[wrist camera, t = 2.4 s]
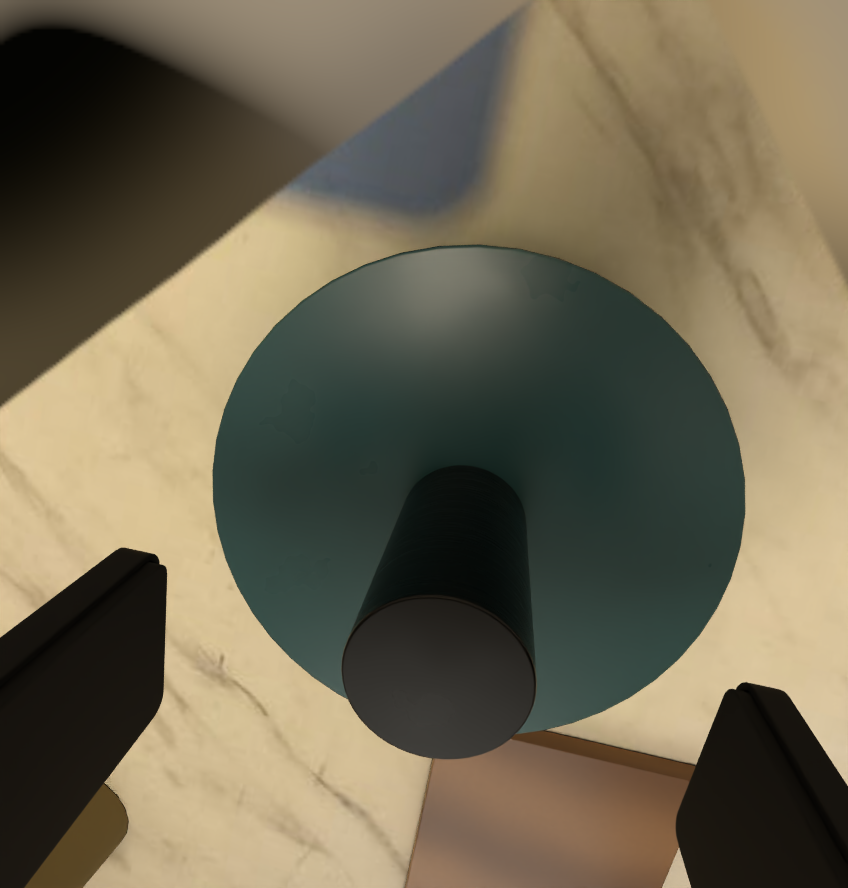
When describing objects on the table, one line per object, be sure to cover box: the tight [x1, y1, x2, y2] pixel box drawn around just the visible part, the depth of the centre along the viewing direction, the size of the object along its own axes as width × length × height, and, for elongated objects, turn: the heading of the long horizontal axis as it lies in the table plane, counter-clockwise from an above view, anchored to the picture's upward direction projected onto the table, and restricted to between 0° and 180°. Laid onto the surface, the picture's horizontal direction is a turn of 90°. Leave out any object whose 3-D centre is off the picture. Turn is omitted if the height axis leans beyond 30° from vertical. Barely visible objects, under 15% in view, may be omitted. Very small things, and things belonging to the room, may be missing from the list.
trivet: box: [405, 731, 696, 888], centre depth 30 cm, size 14×12×1 cm
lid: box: [213, 245, 745, 759], centre depth 13 cm, size 14×14×7 cm
